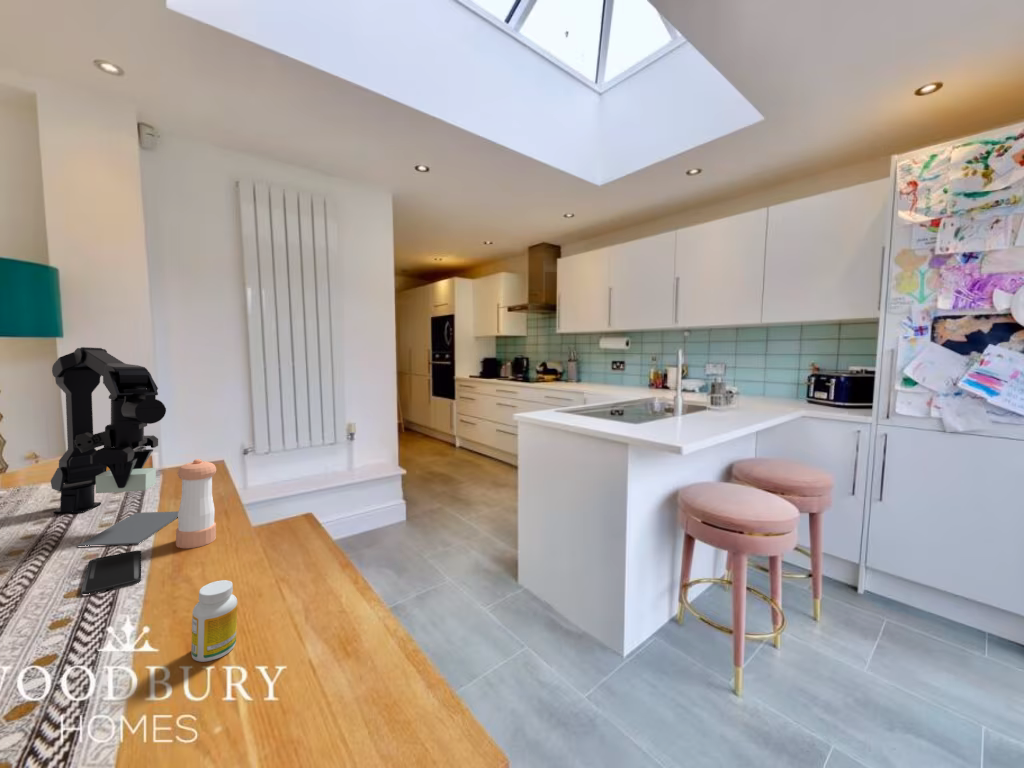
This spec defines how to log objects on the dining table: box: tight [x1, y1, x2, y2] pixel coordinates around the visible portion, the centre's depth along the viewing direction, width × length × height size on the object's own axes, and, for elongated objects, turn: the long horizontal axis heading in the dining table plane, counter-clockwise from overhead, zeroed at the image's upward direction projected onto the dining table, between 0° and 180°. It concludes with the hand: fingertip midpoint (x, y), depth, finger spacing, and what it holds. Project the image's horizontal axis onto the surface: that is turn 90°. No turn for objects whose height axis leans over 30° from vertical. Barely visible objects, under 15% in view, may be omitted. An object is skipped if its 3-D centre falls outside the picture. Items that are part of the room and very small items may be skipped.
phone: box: [80, 550, 142, 594], centre depth 78 cm, size 8×1×15 cm
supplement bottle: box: [190, 579, 238, 663], centre depth 60 cm, size 5×5×10 cm
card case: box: [95, 467, 157, 494], centre depth 96 cm, size 9×6×4 cm, turn 112°
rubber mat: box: [77, 510, 179, 546], centre depth 98 cm, size 19×11×1 cm, turn 14°
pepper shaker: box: [175, 458, 217, 549], centre depth 92 cm, size 7×7×19 cm
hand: (127, 484), depth 96 cm, fingers closed on card case, 6 cm apart
